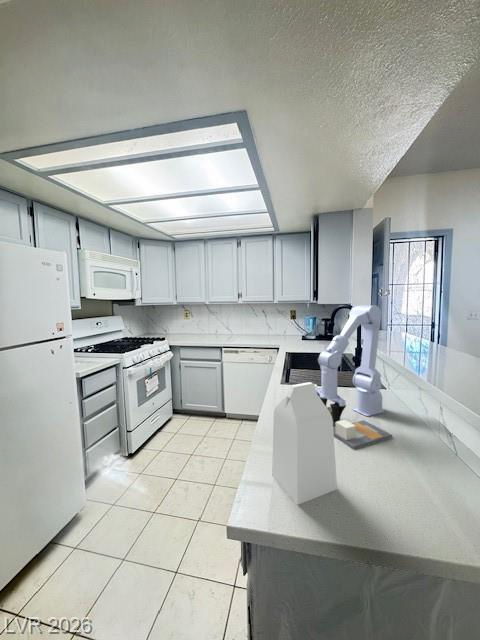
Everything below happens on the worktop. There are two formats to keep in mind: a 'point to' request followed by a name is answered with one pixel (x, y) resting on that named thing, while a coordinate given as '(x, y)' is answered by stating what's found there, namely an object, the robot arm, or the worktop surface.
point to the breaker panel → (364, 435)
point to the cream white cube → (345, 429)
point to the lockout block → (331, 413)
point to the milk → (303, 445)
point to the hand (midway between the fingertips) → (329, 417)
